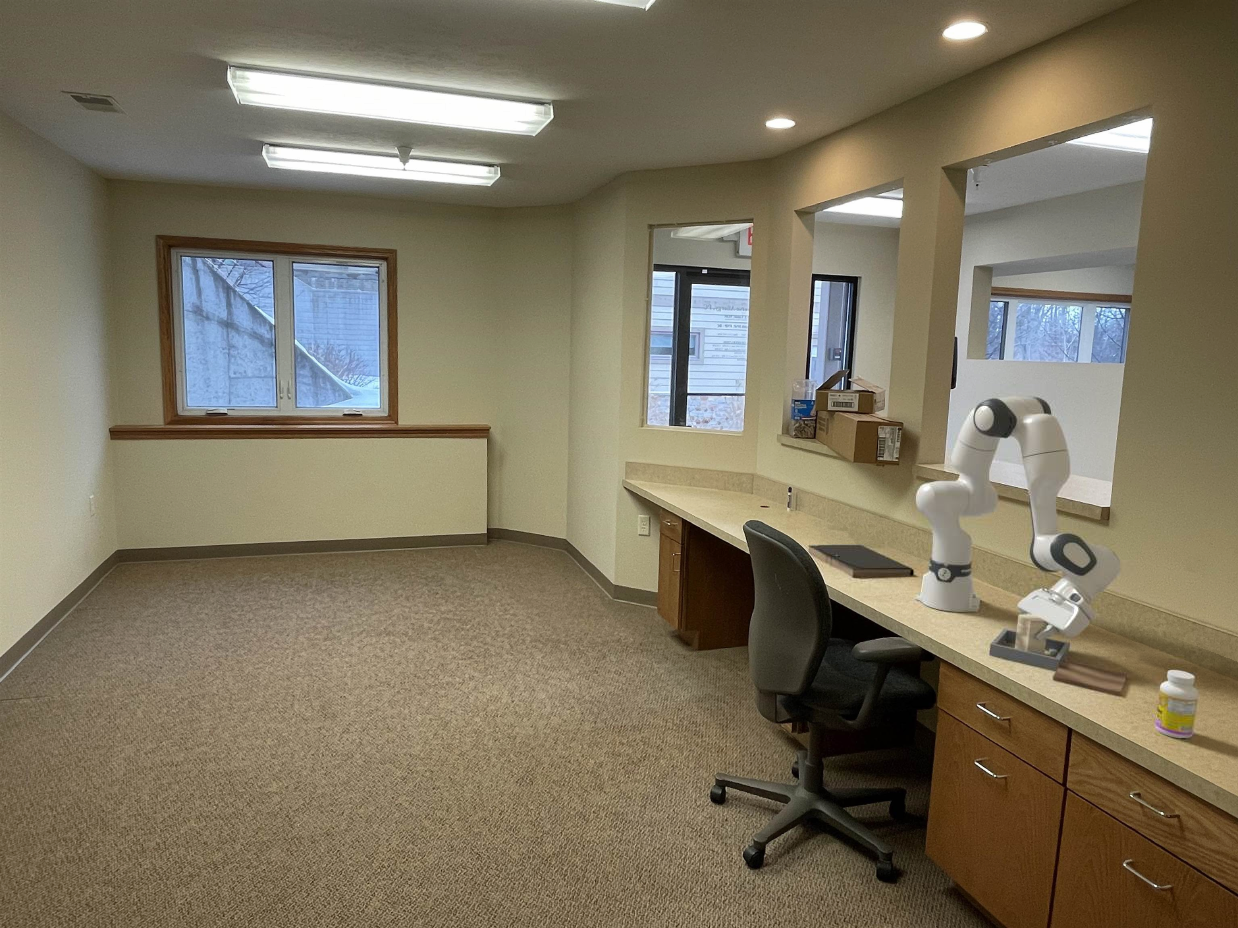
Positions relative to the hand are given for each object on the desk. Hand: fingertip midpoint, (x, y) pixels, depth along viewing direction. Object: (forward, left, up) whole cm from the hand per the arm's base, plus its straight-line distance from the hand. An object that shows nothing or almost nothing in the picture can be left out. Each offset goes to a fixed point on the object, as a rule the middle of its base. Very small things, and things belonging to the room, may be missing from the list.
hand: (1029, 634), depth 214 cm
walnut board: (+8, +15, -5) cm, 18 cm away
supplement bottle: (+29, +33, -6) cm, 44 cm away
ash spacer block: (0, 0, -5) cm, 5 cm away
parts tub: (0, 0, -5) cm, 5 cm away
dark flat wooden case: (-58, -68, -6) cm, 89 cm away
